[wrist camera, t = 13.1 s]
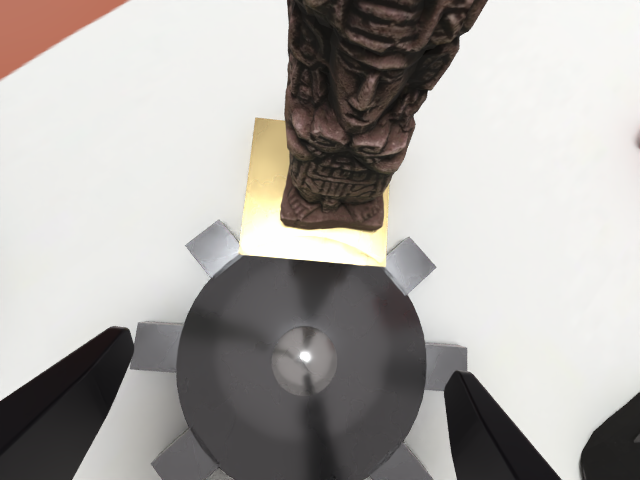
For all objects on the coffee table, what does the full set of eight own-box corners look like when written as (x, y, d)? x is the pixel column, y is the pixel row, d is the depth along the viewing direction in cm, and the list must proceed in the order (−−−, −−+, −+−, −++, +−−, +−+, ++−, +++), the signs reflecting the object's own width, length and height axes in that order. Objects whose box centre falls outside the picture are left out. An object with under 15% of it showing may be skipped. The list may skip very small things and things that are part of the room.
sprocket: (457, 543, 21) (476, 572, 18) (111, 527, 20) (88, 555, 17) (459, 147, 25) (473, 133, 23) (181, 118, 24) (170, 100, 22)
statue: (280, 228, 22) (123, -315, 3) (287, 132, 23) (221, -728, 4) (379, 234, 23) (922, -200, 3) (380, 139, 24) (764, -613, 4)
